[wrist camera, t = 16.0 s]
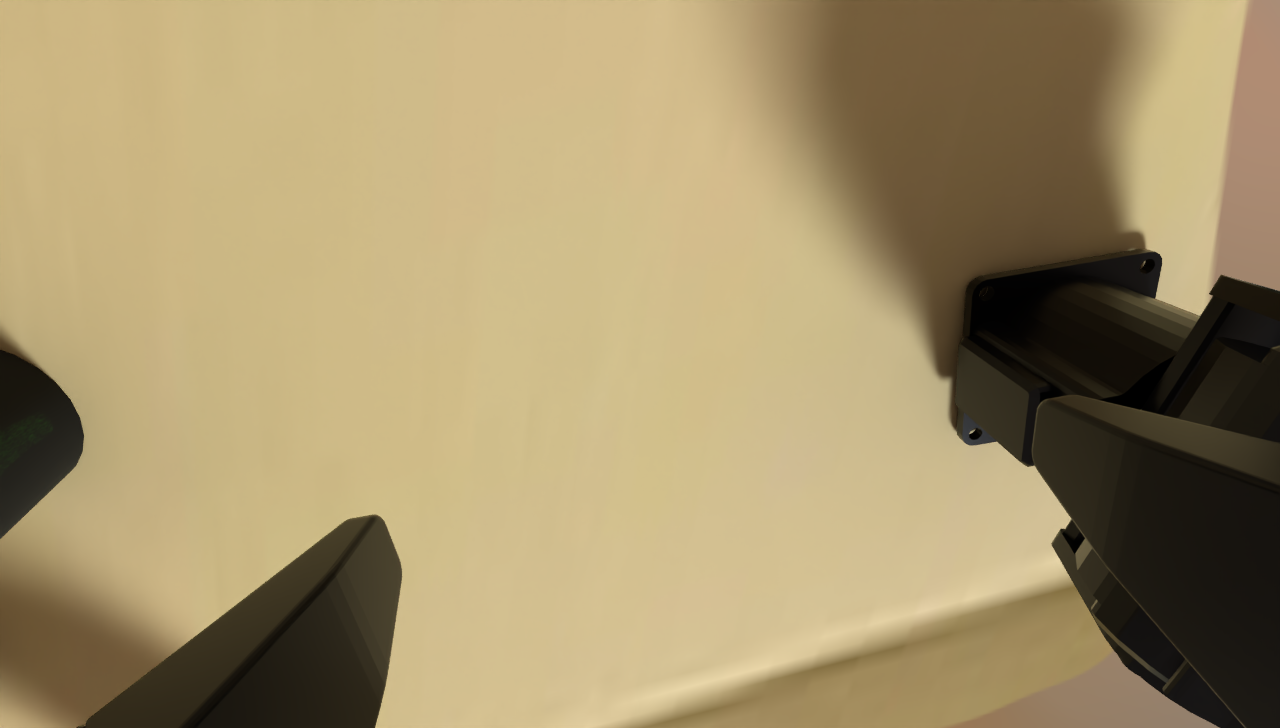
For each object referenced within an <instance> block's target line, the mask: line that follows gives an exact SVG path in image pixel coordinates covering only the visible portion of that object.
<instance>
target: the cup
mask: <svg viewBox="0 0 1280 728" xmlns="http://www.w3.org/2000/svg"><path fill="white" fill-rule="evenodd" d="M83 440H84V434H83V430H82V425H81V421H80V418H79V416H78V414H77V412H76V410H75V408H74V406H73V404H72V402H71V400H70V399H69V398H68V397H67V396H66V395H65V393H64V392H63V391H62V390H61V389H60V387H59V386H58V385H57V384H56V383H55V382H54V381H53V380H51V379H50V378H49V377H48V376H46V375H45V374H44V373H43V372H42V371H40V370H39V369H38V368H36V367H35V366H33V365H31V364H29V363H28V362H26V361H24V360H22V359H21V358H19V357H17V356H15V355H13V354H10V353H7V352H5V351H2V350H0V539H1V538H2V537H3V536H4V535H5V534H6V533H7V532H8V531H9V530H10V529H11V528H12V527H13V526H14V525H15V524H16V523H17V522H18V521H20V520H21V519H22V518H23V517H24V516H25V515H26V514H27V513H28V512H29V511H30V510H31V509H32V508H33V507H34V506H35V505H36V504H37V503H38V502H39V501H40V500H41V499H42V498H44V497H45V496H46V495H47V494H48V493H49V492H50V491H51V490H52V489H53V488H54V487H55V486H56V485H57V484H58V483H59V482H60V481H61V480H62V479H63V478H64V477H65V476H66V475H67V474H68V473H69V472H70V471H71V470H72V469H73V468H74V467H75V466H76V465H77V463H78V460H79V458H80V456H81V454H82V452H83Z"/></svg>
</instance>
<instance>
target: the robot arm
mask: <svg viewBox="0 0 1280 728" xmlns="http://www.w3.org/2000/svg"><path fill="white" fill-rule="evenodd" d="M1144 261H1145V264H1144V266H1143V267H1142V268H1141V269H1140V266H1141V264H1142V263H1143V262H1144ZM1161 266H1162V258H1161V256H1160V254H1158V253H1156V252H1153V251H1150V250H1147V249H1138V250H1132V251H1126V252H1120V253H1114V254H1108V255H1102V256H1097V257H1091V258H1085V259H1079V260H1073V261H1067V262H1061V263H1055V264H1049V265H1043V266H1038V267H1032V268H1026V269H1020V270H1014V271H1008V272H1002V273H996V274H990V275H984V276H980V277H977V278H975V279H974V280H972V281H971V282H970V284H969V285H968V287H967V290H966V297H965V312H964V327H963V339H962V340H961V342H960V344H959V349H958V365H957V380H956V396H955V404H956V406H958V417H957V435H958V436H959V438H960V439H961V440H962V441H963V442H964V443H966V444H968V445H979V444H985V443H991V442H998V443H999V444H1001V445H1002V446H1003V447H1004V448H1005V449H1006V450H1007V451H1008V452H1010V453H1011V454H1012V455H1013V456H1014V457H1015V458H1016V459H1017V460H1019V461H1020V462H1021V463H1023V464H1024V465H1025V466H1027V467H1030V466H1035V467H1036V469H1037V470H1038V472H1039V473H1040V475H1041V476H1042V478H1043V479H1044V480H1045V482H1046V483H1047V485H1048V486H1049V487H1050V489H1051V490H1052V492H1053V493H1054V495H1055V496H1056V497H1057V499H1058V500H1059V502H1060V503H1061V505H1062V506H1063V507H1064V509H1065V510H1066V512H1067V513H1068V515H1069V516H1070V517H1071V521H1070V522H1069V524H1068V525H1067V527H1066V529H1060V531H1059V532H1058V534H1057V535H1056V537H1055V539H1054V540H1053V542H1052V543H1051V544H1052V546H1053V548H1054V550H1055V552H1056V553H1057V555H1058V557H1059V559H1060V560H1061V562H1062V564H1063V566H1064V567H1065V569H1066V571H1067V573H1068V574H1069V576H1070V578H1071V580H1072V581H1073V583H1074V585H1075V587H1076V588H1077V590H1078V592H1079V594H1080V595H1081V597H1082V599H1083V600H1084V602H1085V604H1086V606H1087V607H1088V609H1089V611H1090V613H1091V614H1092V616H1093V618H1094V620H1095V621H1096V623H1097V625H1098V627H1099V628H1100V630H1101V632H1102V634H1103V635H1104V637H1105V639H1106V640H1107V641H1108V643H1109V644H1110V646H1111V647H1112V648H1113V650H1114V651H1115V652H1116V653H1117V654H1118V656H1119V658H1120V659H1121V661H1122V663H1123V664H1124V665H1125V666H1126V667H1127V668H1128V669H1129V670H1131V671H1132V672H1134V673H1135V674H1137V675H1139V676H1141V678H1143V679H1144V680H1145V681H1146V682H1147V683H1149V684H1150V685H1151V686H1153V687H1154V688H1155V689H1157V690H1158V691H1159V692H1161V693H1162V694H1164V695H1165V696H1166V697H1168V698H1169V699H1170V700H1172V701H1174V702H1175V703H1177V704H1178V705H1180V706H1182V707H1183V708H1185V709H1186V710H1188V711H1190V712H1191V713H1193V714H1195V715H1197V716H1199V717H1201V718H1203V719H1205V720H1207V721H1209V722H1211V723H1212V724H1214V725H1216V726H1218V727H1220V728H1280V291H1277V290H1274V289H1270V288H1267V287H1263V286H1260V285H1256V284H1253V283H1249V282H1246V281H1242V280H1238V279H1235V278H1231V277H1228V276H1224V275H1221V276H1220V277H1219V279H1218V280H1217V282H1216V284H1215V285H1214V287H1213V288H1212V290H1211V291H1210V293H1209V294H1210V295H1213V297H1212V298H1211V300H1210V302H1209V303H1208V305H1207V306H1206V308H1205V309H1204V311H1203V313H1202V314H1201V316H1198V315H1196V314H1193V313H1191V312H1188V311H1185V310H1183V309H1180V308H1178V307H1175V306H1173V305H1170V304H1167V303H1165V302H1162V301H1160V300H1157V299H1155V297H1156V292H1157V287H1158V282H1159V277H1160V272H1161ZM985 287H987V288H988V289H987V292H986V293H985V295H984V296H981V297H980V296H979V294H980V291H981V290H982V289H983V288H985ZM974 428H976V430H975V431H974V432H973V433H971V434H969V433H970V431H971V430H972V429H974ZM401 581H402V568H401V563H400V560H399V557H398V554H397V552H396V549H395V547H394V544H393V542H392V539H391V536H390V534H389V531H388V529H387V526H386V524H385V522H384V520H383V519H382V518H381V517H380V516H378V515H368V516H363V517H357V518H351V519H348V520H346V521H344V522H343V523H342V524H341V525H339V526H338V527H337V528H335V529H334V530H333V531H331V532H330V533H329V534H328V535H326V536H325V537H324V538H322V539H321V540H320V541H318V542H317V543H316V544H315V545H313V546H312V547H311V548H309V549H308V550H307V551H305V552H304V553H303V554H302V555H300V556H299V557H298V558H296V559H295V560H294V561H293V562H291V563H290V564H289V565H287V566H286V567H285V568H283V569H282V570H281V571H280V572H278V573H277V574H276V575H274V576H273V577H272V578H270V579H269V580H268V581H267V582H265V583H264V584H263V585H261V586H260V587H259V588H257V589H256V590H255V591H254V592H252V593H251V594H250V595H248V596H247V597H246V598H245V599H243V600H242V601H241V602H239V603H238V604H237V605H235V606H234V607H233V608H232V609H230V610H229V611H228V612H226V613H225V614H224V615H222V616H221V617H220V618H219V619H217V620H216V621H215V622H213V623H212V624H211V625H209V626H208V627H207V628H206V629H204V630H203V631H202V632H200V633H199V634H198V635H196V636H195V637H194V638H193V639H191V640H190V641H189V642H187V643H186V644H185V645H184V646H182V647H181V648H180V649H178V650H177V651H176V652H174V653H173V654H172V655H171V656H169V657H168V658H167V659H165V660H164V661H163V662H161V663H160V664H159V665H158V666H156V667H155V668H154V669H152V670H151V671H150V672H148V673H147V674H146V675H145V676H143V677H142V678H141V679H139V680H138V681H137V682H136V683H134V684H133V685H132V686H130V687H129V688H128V689H126V690H125V691H124V692H123V693H121V694H120V695H119V696H117V697H116V698H115V699H113V700H112V701H111V702H110V703H108V704H107V705H106V706H104V707H103V708H102V709H100V710H99V711H98V712H97V713H95V714H94V715H93V716H91V717H90V718H89V719H88V720H87V722H86V726H84V725H81V726H78V727H77V728H375V726H376V722H377V718H378V714H379V711H380V707H381V703H382V698H383V694H384V690H385V686H386V680H387V675H388V669H389V662H390V656H391V649H392V642H393V635H394V629H395V622H396V615H397V608H398V602H399V595H400V588H401Z"/></svg>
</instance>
